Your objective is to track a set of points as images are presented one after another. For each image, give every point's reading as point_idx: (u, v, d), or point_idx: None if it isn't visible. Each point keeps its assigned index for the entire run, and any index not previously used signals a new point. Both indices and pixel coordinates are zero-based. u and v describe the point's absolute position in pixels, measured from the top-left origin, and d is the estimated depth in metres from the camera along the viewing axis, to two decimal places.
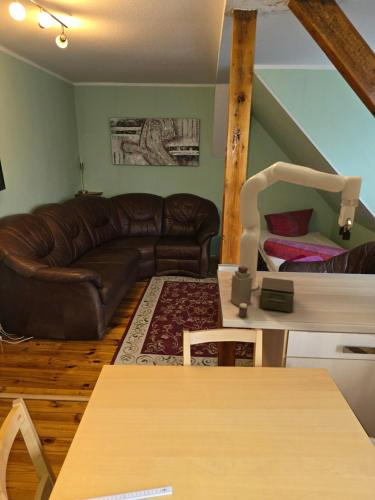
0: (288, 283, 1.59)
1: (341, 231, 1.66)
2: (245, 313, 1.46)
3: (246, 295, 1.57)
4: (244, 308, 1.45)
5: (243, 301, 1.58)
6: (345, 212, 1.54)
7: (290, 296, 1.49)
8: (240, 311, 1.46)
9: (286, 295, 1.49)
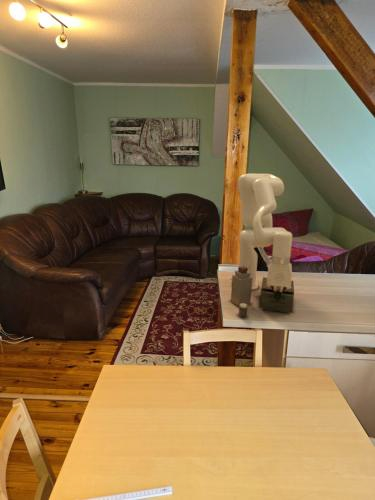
0: None
1: None
2: (245, 313, 1.46)
3: (246, 295, 1.57)
4: (244, 308, 1.45)
5: (243, 301, 1.58)
6: (291, 271, 1.41)
7: (290, 297, 1.48)
8: (240, 311, 1.46)
9: (286, 296, 1.49)
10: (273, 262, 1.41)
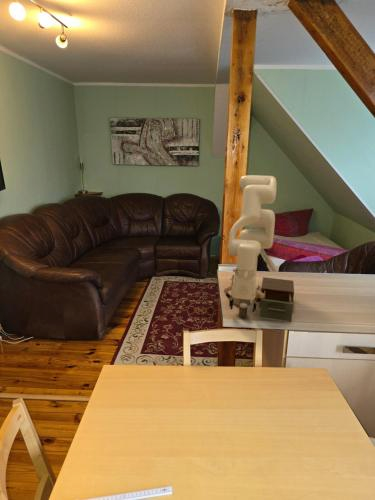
0: (288, 283, 1.59)
1: (232, 304, 1.46)
2: (245, 313, 1.46)
3: None
4: (244, 308, 1.45)
5: (243, 301, 1.58)
6: (255, 284, 1.40)
7: (290, 305, 1.40)
8: (240, 311, 1.46)
9: (286, 304, 1.41)
10: (237, 275, 1.40)
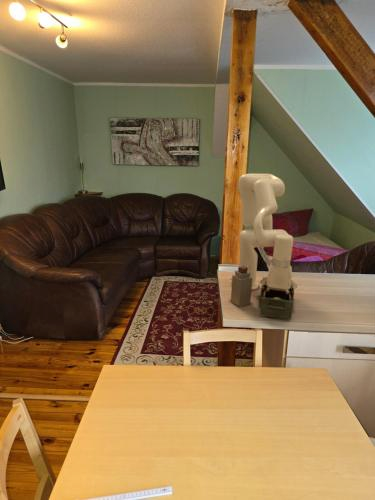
0: None
1: None
2: None
3: (246, 295, 1.57)
4: None
5: (243, 301, 1.58)
6: (291, 274, 1.42)
7: (290, 303, 1.42)
8: None
9: (286, 302, 1.42)
10: (273, 265, 1.42)
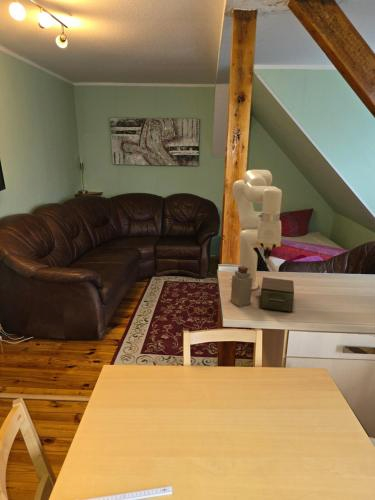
0: (288, 283, 1.59)
1: None
2: None
3: (246, 295, 1.57)
4: None
5: (243, 301, 1.58)
6: (280, 228, 1.41)
7: (290, 296, 1.50)
8: None
9: (286, 295, 1.50)
10: (263, 219, 1.42)
